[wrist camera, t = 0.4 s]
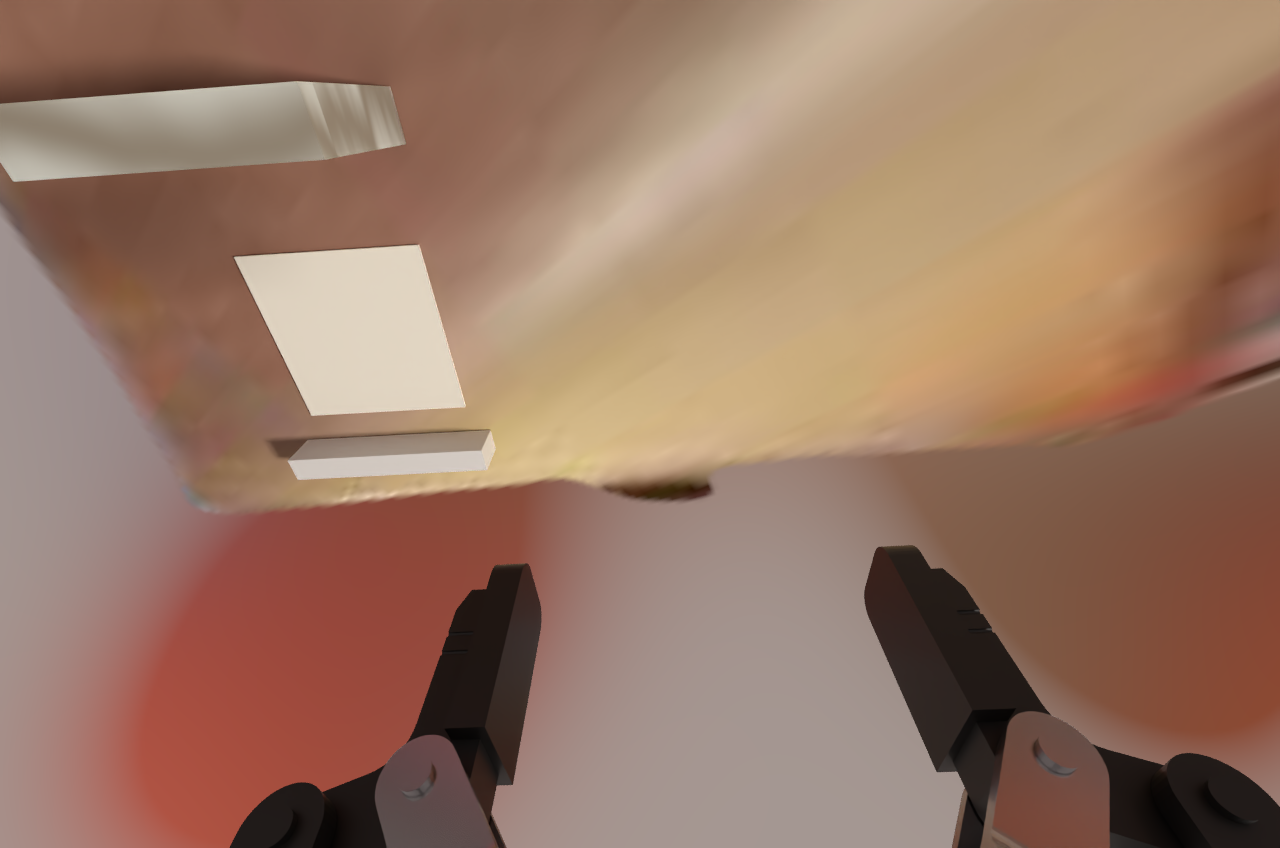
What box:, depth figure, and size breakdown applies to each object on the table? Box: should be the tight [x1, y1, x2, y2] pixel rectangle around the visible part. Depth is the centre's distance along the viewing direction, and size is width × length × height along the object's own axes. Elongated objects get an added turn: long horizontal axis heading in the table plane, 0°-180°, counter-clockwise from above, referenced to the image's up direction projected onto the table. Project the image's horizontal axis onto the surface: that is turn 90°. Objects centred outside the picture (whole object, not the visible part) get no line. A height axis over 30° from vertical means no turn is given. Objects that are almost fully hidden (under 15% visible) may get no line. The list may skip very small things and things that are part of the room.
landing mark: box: [234, 244, 466, 416], centre depth 38 cm, size 13×13×1 cm
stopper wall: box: [288, 430, 496, 480], centre depth 43 cm, size 2×16×3 cm, turn 94°
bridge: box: [0, 81, 406, 182], centre depth 27 cm, size 3×15×10 cm, turn 93°
